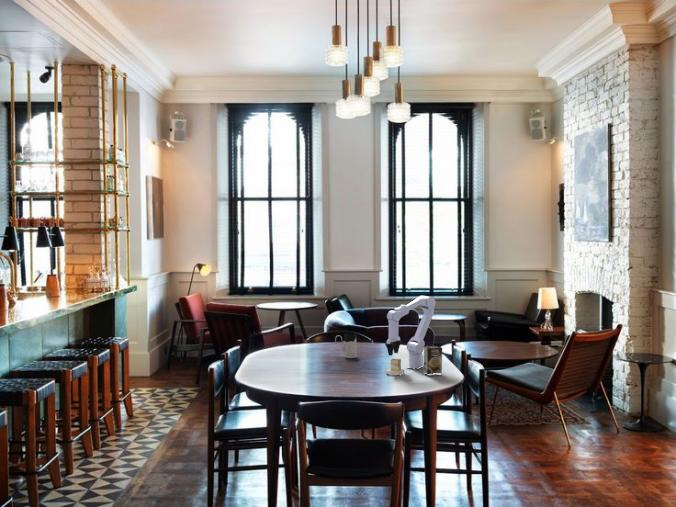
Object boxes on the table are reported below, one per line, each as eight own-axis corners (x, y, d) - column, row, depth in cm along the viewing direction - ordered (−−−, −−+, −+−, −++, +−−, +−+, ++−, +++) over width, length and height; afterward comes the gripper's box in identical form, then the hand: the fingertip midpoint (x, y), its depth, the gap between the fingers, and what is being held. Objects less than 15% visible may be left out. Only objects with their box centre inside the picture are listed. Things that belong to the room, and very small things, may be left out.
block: (393, 368, 388) (393, 358, 387) (400, 369, 386) (400, 359, 385) (390, 370, 384) (390, 359, 383) (397, 371, 382) (397, 360, 381)
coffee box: (427, 376, 380) (427, 348, 379) (423, 373, 386) (423, 346, 385) (442, 375, 382) (442, 347, 382) (437, 373, 389) (438, 345, 388)
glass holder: (357, 357, 430) (357, 334, 430) (334, 357, 430) (335, 334, 430) (356, 355, 439) (357, 332, 438) (335, 354, 439) (335, 332, 439)
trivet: (391, 372, 390) (391, 367, 390) (404, 373, 386) (404, 369, 386) (385, 374, 383) (385, 370, 383) (398, 376, 379) (398, 371, 379)
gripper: (394, 333, 384) (394, 357, 384) (404, 330, 396) (404, 352, 397) (383, 332, 387) (383, 355, 388) (393, 329, 400) (393, 351, 401)
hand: (393, 354), depth 393 cm, fingers open, 7 cm apart
